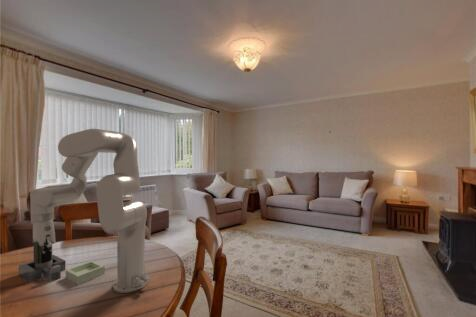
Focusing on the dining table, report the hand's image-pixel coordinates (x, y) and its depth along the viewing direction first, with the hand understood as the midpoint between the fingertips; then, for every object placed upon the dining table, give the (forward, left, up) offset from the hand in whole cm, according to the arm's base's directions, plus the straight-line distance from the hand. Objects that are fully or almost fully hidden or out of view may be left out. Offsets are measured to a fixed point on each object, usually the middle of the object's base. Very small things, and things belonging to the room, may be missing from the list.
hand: (43, 259), depth 97 cm
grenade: (0, 0, -5) cm, 5 cm away
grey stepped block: (-8, 0, -5) cm, 10 cm away
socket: (+1, 0, -5) cm, 5 cm away
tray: (-18, -8, -5) cm, 21 cm away
